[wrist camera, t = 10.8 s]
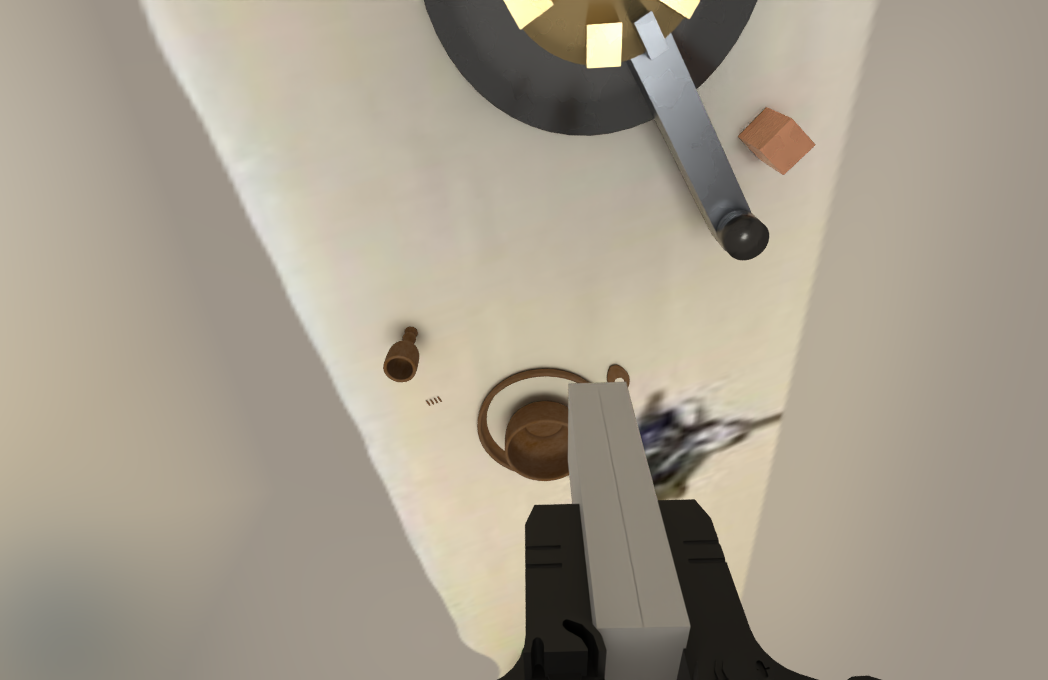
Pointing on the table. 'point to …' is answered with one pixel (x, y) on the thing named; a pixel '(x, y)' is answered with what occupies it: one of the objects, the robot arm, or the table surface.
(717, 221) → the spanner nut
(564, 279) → the table surface
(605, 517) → the robot arm
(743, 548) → the table surface
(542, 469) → the place setting
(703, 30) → the base
